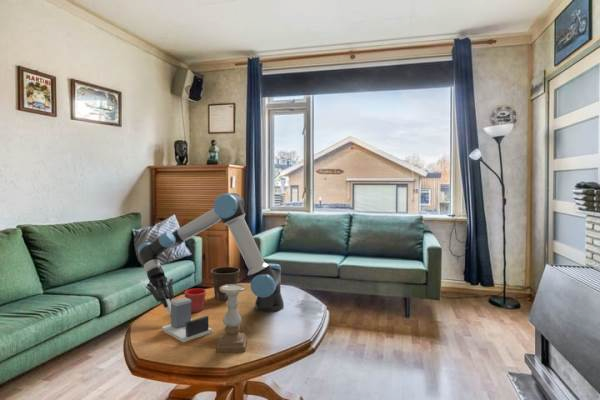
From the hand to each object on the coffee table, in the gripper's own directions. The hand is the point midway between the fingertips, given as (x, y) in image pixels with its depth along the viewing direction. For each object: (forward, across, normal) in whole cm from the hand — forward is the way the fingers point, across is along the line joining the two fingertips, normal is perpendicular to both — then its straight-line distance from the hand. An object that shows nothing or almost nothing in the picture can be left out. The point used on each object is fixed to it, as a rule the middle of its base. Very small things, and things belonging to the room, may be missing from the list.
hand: (171, 312), depth 166 cm
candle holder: (+32, -5, +24) cm, 40 cm away
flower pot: (-2, -18, -10) cm, 20 cm away
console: (+13, 0, +6) cm, 15 cm away
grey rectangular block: (+9, 0, +4) cm, 9 cm away
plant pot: (-5, -40, -13) cm, 42 cm away
